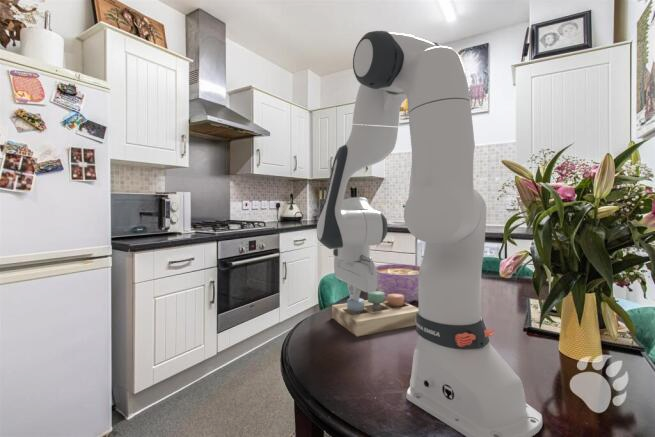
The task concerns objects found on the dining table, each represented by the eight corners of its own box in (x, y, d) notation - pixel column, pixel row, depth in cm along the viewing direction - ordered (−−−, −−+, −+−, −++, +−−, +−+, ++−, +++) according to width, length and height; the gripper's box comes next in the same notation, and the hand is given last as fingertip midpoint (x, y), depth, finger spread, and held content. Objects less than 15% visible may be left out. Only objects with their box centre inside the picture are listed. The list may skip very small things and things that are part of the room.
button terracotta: (407, 315, 101) (407, 296, 101) (393, 318, 99) (393, 298, 99) (397, 311, 105) (397, 292, 105) (384, 313, 103) (384, 294, 103)
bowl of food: (409, 291, 132) (409, 262, 132) (441, 305, 113) (441, 272, 113) (363, 296, 126) (363, 266, 126) (389, 312, 107) (389, 276, 107)
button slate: (367, 321, 95) (367, 301, 95) (352, 324, 93) (352, 303, 93) (359, 316, 100) (359, 296, 100) (344, 318, 98) (344, 299, 98)
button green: (387, 313, 98) (387, 294, 98) (373, 316, 96) (373, 296, 96) (378, 309, 103) (378, 290, 102) (364, 311, 101) (364, 292, 100)
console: (423, 323, 96) (423, 310, 96) (357, 336, 88) (356, 321, 88) (391, 308, 111) (391, 296, 111) (332, 317, 102) (332, 305, 102)
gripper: (383, 257, 88) (383, 308, 88) (348, 247, 106) (348, 290, 107) (362, 259, 85) (362, 312, 86) (330, 249, 104) (330, 292, 104)
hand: (354, 299), depth 97 cm, fingers closed
